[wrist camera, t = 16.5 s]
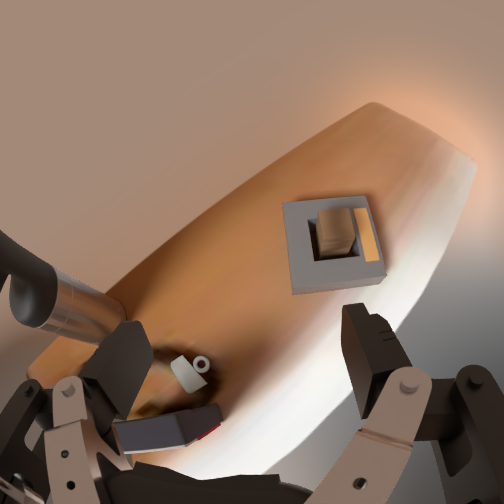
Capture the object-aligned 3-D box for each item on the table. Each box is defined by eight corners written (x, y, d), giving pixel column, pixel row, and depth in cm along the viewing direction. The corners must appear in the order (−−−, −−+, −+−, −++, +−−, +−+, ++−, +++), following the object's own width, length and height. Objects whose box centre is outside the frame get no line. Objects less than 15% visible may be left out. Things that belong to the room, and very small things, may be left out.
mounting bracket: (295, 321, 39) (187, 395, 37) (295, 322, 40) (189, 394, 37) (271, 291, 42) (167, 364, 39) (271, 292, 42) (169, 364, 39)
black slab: (163, 437, 34) (108, 458, 20) (154, 413, 36) (97, 425, 22) (225, 424, 34) (190, 451, 21) (216, 399, 36) (175, 413, 22)
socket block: (292, 294, 41) (292, 287, 37) (283, 215, 47) (282, 202, 43) (379, 283, 39) (387, 275, 36) (360, 208, 45) (365, 194, 41)
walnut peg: (318, 261, 43) (323, 239, 35) (314, 236, 44) (318, 210, 37) (345, 258, 42) (355, 236, 35) (341, 234, 44) (348, 208, 37)
